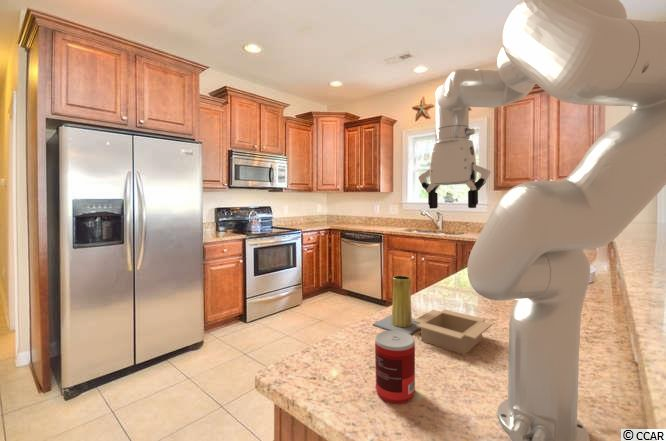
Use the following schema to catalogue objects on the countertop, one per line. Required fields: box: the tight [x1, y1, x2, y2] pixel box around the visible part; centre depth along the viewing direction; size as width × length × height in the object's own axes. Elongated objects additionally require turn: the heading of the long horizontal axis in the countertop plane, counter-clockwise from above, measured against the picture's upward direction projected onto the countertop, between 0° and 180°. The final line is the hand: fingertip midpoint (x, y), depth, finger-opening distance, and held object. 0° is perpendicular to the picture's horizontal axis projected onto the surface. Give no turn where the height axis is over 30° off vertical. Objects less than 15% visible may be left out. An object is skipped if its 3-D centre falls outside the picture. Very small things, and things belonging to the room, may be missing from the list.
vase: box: [391, 274, 413, 327], centre depth 96 cm, size 6×6×14 cm
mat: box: [372, 314, 421, 336], centre depth 97 cm, size 12×12×1 cm
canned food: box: [374, 330, 416, 405], centre depth 63 cm, size 8×8×11 cm
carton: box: [413, 309, 493, 356], centre depth 85 cm, size 17×17×5 cm
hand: (452, 208), depth 77 cm, fingers open, 9 cm apart
